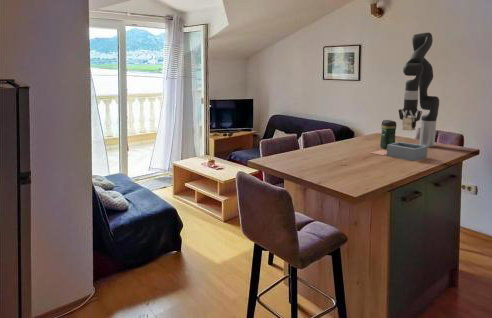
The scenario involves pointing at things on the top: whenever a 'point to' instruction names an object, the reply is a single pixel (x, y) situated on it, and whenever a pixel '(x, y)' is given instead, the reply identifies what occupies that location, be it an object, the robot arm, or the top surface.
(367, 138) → the top surface
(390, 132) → the coffee jar
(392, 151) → the box
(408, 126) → the maple block
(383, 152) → the terracotta mat
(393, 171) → the top surface
